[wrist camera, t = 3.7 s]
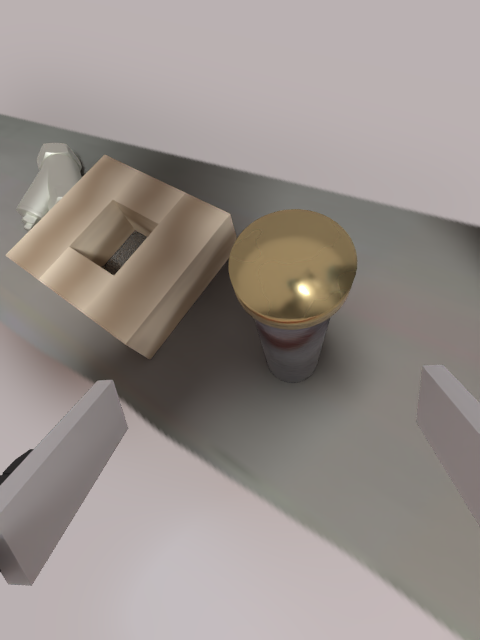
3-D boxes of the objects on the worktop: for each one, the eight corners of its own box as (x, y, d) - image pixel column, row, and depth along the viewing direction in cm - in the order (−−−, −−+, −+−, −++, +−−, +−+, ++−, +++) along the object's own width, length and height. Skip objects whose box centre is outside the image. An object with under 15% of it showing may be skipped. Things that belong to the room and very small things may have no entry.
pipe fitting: (43, 249, 32) (102, 216, 31) (8, 225, 28) (74, 188, 28) (31, 195, 35) (85, 165, 34) (-1, 168, 31) (58, 134, 31)
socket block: (238, 245, 27) (230, 213, 24) (150, 359, 25) (125, 344, 21) (126, 188, 32) (104, 154, 28) (41, 279, 29) (5, 255, 26)
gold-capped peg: (334, 348, 23) (381, 239, 11) (302, 401, 22) (313, 343, 10) (282, 318, 24) (272, 193, 12) (250, 366, 23) (204, 280, 11)
